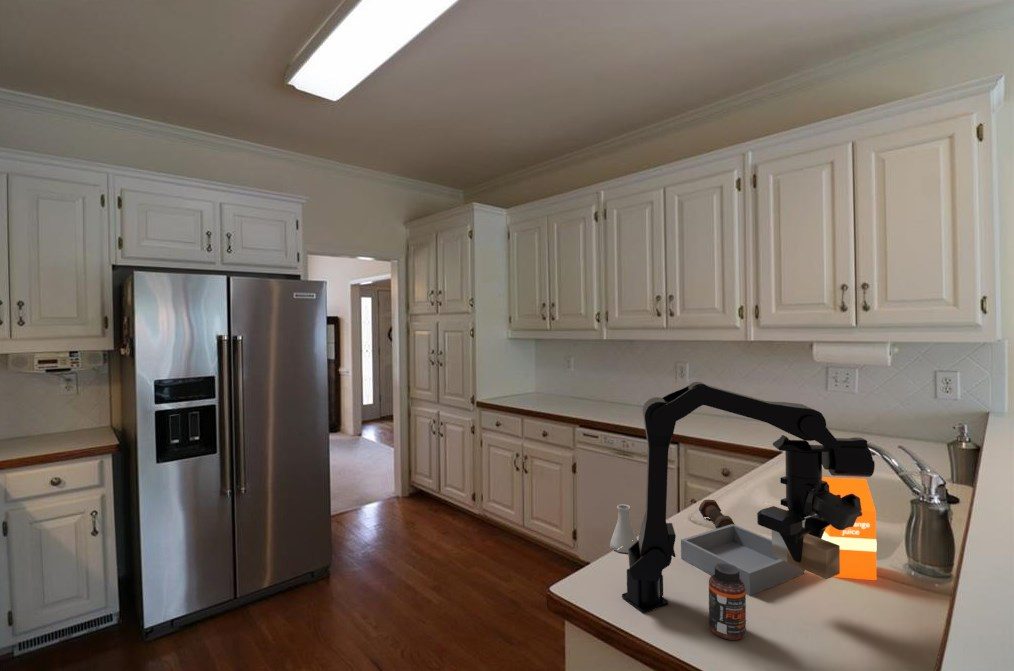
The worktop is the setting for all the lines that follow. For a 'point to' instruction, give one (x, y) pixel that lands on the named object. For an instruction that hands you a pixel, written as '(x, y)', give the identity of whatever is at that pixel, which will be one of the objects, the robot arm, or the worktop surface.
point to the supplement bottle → (727, 602)
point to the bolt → (714, 513)
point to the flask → (623, 531)
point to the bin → (739, 556)
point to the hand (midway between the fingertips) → (804, 558)
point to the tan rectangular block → (811, 555)
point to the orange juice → (855, 532)
